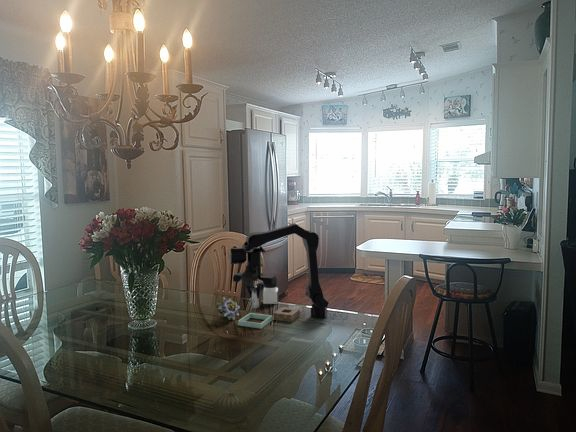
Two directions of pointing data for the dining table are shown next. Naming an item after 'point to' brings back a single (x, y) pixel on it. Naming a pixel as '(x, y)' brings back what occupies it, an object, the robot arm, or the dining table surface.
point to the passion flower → (228, 308)
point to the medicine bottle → (270, 294)
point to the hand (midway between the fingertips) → (255, 298)
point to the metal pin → (254, 297)
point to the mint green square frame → (244, 322)
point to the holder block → (286, 314)
